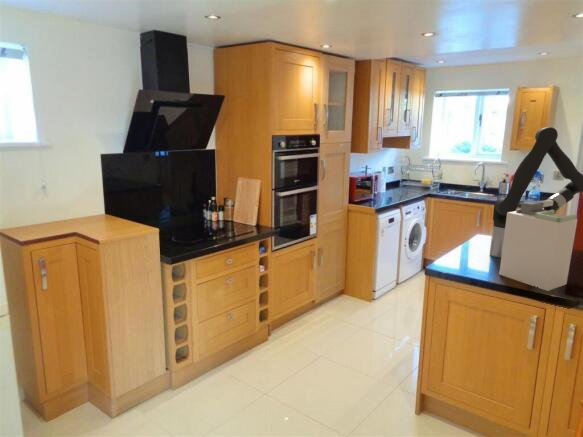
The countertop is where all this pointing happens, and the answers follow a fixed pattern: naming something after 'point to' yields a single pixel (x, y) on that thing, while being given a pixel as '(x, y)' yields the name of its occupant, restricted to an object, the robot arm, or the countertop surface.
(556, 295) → the countertop surface
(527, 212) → the light grey rectangular prism
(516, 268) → the cabinet
